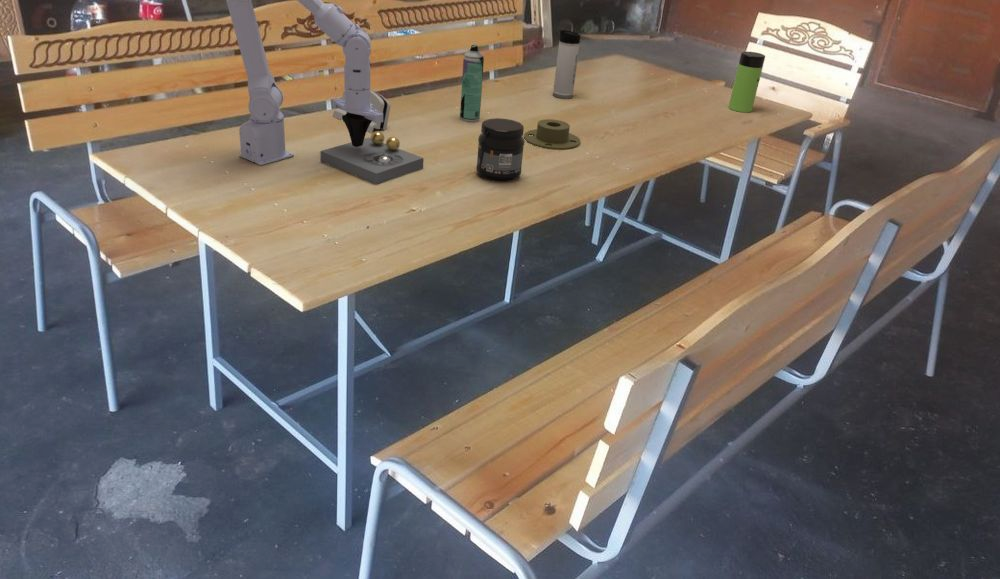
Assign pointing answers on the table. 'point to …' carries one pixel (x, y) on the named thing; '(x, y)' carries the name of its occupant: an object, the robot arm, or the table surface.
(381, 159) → the ball
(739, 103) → the tumbler
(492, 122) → the supplement container
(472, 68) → the spray can
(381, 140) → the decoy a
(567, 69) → the travel mug
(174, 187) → the table surface
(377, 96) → the grey rounded bracket
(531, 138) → the flange
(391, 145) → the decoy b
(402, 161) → the plate
